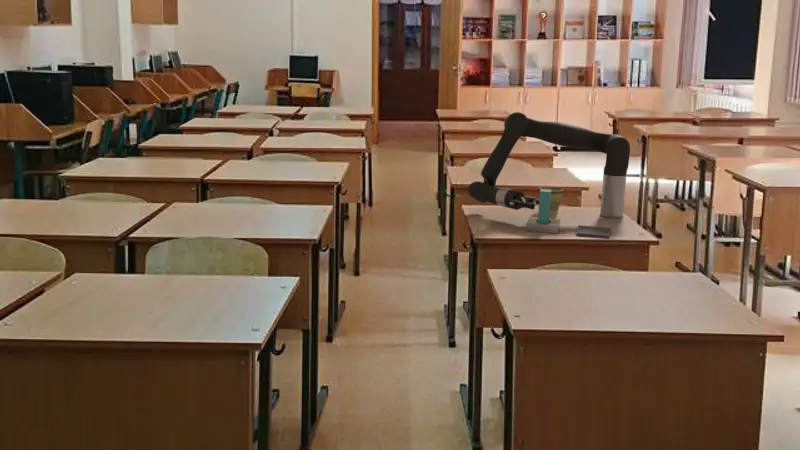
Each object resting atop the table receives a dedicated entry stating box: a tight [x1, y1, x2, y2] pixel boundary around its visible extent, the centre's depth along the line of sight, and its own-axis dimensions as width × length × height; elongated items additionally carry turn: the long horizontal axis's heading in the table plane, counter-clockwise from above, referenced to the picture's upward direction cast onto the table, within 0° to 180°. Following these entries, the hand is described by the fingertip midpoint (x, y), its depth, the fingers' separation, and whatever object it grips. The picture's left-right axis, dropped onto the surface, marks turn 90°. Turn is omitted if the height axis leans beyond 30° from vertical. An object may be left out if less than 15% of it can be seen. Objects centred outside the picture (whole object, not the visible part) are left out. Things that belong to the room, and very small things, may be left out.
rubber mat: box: [576, 225, 611, 239], centre depth 354 cm, size 14×12×1 cm
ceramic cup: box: [538, 185, 564, 214], centre depth 390 cm, size 13×10×10 cm
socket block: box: [525, 216, 562, 234], centre depth 358 cm, size 12×12×3 cm
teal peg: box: [537, 189, 551, 223], centre depth 356 cm, size 4×4×15 cm
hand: (541, 205), depth 357 cm, fingers open, 8 cm apart
